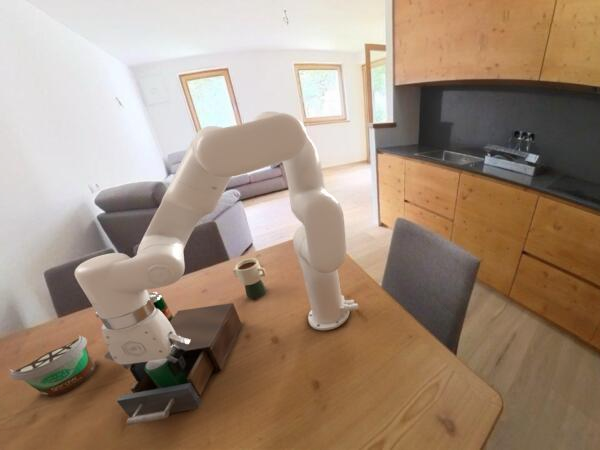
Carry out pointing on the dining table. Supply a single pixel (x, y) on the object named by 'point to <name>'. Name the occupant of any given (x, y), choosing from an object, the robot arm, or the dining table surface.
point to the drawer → (168, 392)
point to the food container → (58, 369)
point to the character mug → (251, 277)
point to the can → (164, 373)
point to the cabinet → (209, 330)
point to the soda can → (161, 305)
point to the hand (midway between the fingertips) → (162, 372)
